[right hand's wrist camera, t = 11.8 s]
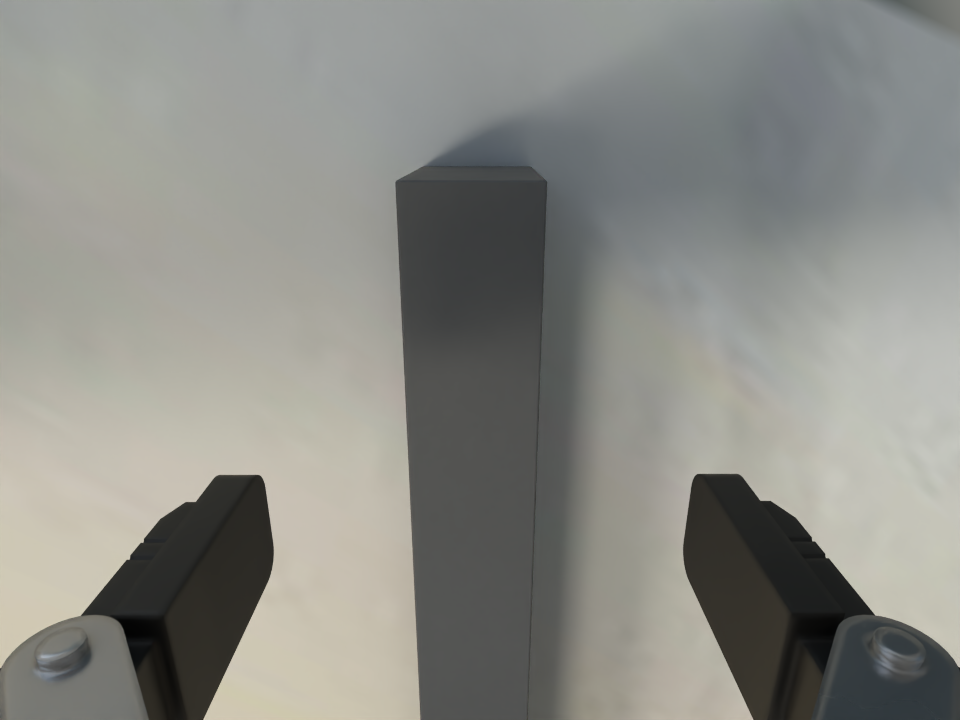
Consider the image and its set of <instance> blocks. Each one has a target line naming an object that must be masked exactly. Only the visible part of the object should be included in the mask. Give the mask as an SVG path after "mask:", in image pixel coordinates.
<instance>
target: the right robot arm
mask: <svg viewBox="0 0 960 720" xmlns="http://www.w3.org/2000/svg"><path fill="white" fill-rule="evenodd" d="M273 556H274V548H273V539H272V532H271V525H270V517H269V510H268V503H267V496H266V489H265V484H264V481H263V479H262V477H261V476H260V475H218V476H216V477H215V478H214V479H213V480H212V482H211V483H210V484H209V486H208V487H207V488H206V489H205V491H204V492H203V493H202V495H201V496H200V497H199V499H198V500H197V501H196V502H185V503H184V504H182V505H181V506H179V507H178V508H176V509H175V510H173V511H172V512H170V513H169V514H167V515H166V516H164V517H163V518H161V519H160V520H159V521H158V523H157V524H156V525H155V526H154V528H153V529H152V530H151V531H150V532H149V534H148V535H147V536H146V537H145V538H144V543H140V545H139V546H138V547H137V548H136V549H135V551H134V552H133V553H132V554H131V555H130V560H126V562H125V563H124V564H123V565H122V566H121V568H120V569H119V570H118V571H117V572H116V574H115V575H114V576H113V577H112V579H111V580H110V581H109V582H108V583H107V585H106V586H105V587H104V588H103V590H102V591H101V592H100V593H99V594H98V596H97V597H96V598H95V599H94V600H93V602H92V603H91V604H90V605H89V607H88V608H87V609H86V610H85V611H84V613H83V614H82V615H81V616H79V617H75V618H70V619H67V620H64V621H61V622H58V623H56V624H54V625H51V626H49V627H47V628H45V629H43V630H41V631H39V632H38V633H36V634H35V635H33V636H31V637H30V638H28V639H27V640H26V641H25V642H23V643H22V644H21V645H20V646H18V647H17V648H16V649H15V650H14V651H13V652H12V653H11V655H10V656H9V657H8V658H7V659H6V661H5V663H4V664H3V666H2V668H0V720H203V719H204V717H205V714H206V712H207V710H208V708H209V706H210V704H211V702H212V700H213V697H214V695H215V693H216V691H217V689H218V687H219V685H220V683H221V680H222V678H223V676H224V674H225V672H226V670H227V668H228V666H229V663H230V661H231V659H232V657H233V655H234V653H235V651H236V649H237V646H238V644H239V642H240V640H241V638H242V636H243V634H244V632H245V629H246V627H247V625H248V623H249V621H250V619H251V617H252V615H253V612H254V610H255V608H256V606H257V604H258V602H259V600H260V597H261V595H262V593H263V591H264V589H265V587H266V585H267V583H268V580H269V578H270V575H271V570H272V565H273ZM683 556H684V565H685V570H686V574H687V577H688V579H689V582H690V584H691V586H692V588H693V590H694V592H695V595H696V597H697V599H698V601H699V603H700V605H701V608H702V610H703V612H704V614H705V616H706V618H707V620H708V623H709V625H710V627H711V629H712V631H713V633H714V636H715V638H716V640H717V642H718V644H719V646H720V648H721V651H722V653H723V655H724V657H725V659H726V661H727V664H728V666H729V668H730V670H731V672H732V674H733V676H734V679H735V681H736V683H737V685H738V687H739V689H740V692H741V694H742V696H743V698H744V700H745V702H746V704H747V707H748V709H749V711H750V713H751V715H752V717H753V719H754V720H960V668H959V667H958V666H957V664H956V663H955V661H954V659H953V658H952V657H951V656H950V655H949V653H948V652H947V651H946V650H945V649H944V648H943V647H942V646H940V645H939V644H938V643H937V642H935V641H934V640H933V639H932V638H930V637H929V636H927V635H925V634H924V633H922V632H921V631H919V630H917V629H915V628H913V627H911V626H909V625H906V624H904V623H902V622H899V621H896V620H893V619H890V618H885V617H881V616H875V615H874V613H873V612H872V611H871V610H870V608H869V607H868V606H867V605H866V603H865V602H864V601H863V600H862V599H861V597H860V596H859V595H858V594H857V592H856V591H855V590H854V589H853V588H852V586H851V585H850V584H849V583H848V581H847V580H846V579H845V578H844V577H843V575H842V574H841V573H840V572H839V570H838V569H837V568H836V567H835V565H834V564H833V563H832V562H831V561H830V559H829V558H826V557H825V553H824V552H823V551H822V550H821V548H820V547H819V546H818V545H817V543H816V542H812V537H811V536H810V535H809V534H808V532H807V531H806V530H805V529H804V527H803V526H802V525H801V524H800V523H799V521H798V520H797V519H796V518H795V517H794V516H792V515H791V514H789V513H788V512H786V511H785V510H783V509H782V508H780V507H779V506H777V505H776V504H774V503H773V502H771V501H760V500H759V498H758V497H757V496H756V495H755V493H754V492H753V491H752V489H751V488H750V487H749V485H748V484H747V483H746V481H745V480H744V479H743V477H742V476H740V475H739V474H697V475H696V476H695V477H694V479H693V482H692V487H691V494H690V501H689V508H688V515H687V522H686V530H685V537H684V545H683Z"/></svg>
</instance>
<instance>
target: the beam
mask: <svg viewBox="0 0 960 720" xmlns="http://www.w3.org/2000/svg"><path fill="white" fill-rule="evenodd" d="M546 195H547V182H546V180H545V179H544V178H542V177H541V176H540V175H539V174H538V173H537V172H536V171H535V170H534V169H533V168H532V167H421V168H419V169H418V170H416V171H414V172H412V173H410V174H408V175H406V176H404V177H403V178H401V179H399V180H397V181H396V204H397V225H398V247H399V268H400V289H401V311H402V332H403V354H404V375H405V396H406V418H407V439H408V460H409V482H410V503H411V524H412V546H413V567H414V588H415V610H416V631H417V652H418V674H419V695H420V716H421V720H528V694H529V666H530V639H531V611H532V583H533V556H534V528H535V500H536V472H537V445H538V417H539V389H540V361H541V334H542V306H543V278H544V250H545V223H546Z"/></svg>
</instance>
